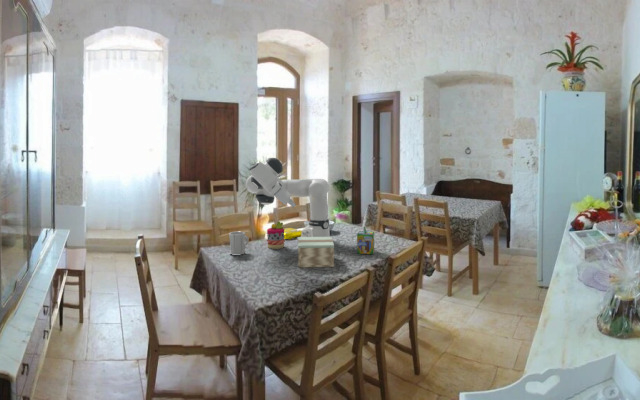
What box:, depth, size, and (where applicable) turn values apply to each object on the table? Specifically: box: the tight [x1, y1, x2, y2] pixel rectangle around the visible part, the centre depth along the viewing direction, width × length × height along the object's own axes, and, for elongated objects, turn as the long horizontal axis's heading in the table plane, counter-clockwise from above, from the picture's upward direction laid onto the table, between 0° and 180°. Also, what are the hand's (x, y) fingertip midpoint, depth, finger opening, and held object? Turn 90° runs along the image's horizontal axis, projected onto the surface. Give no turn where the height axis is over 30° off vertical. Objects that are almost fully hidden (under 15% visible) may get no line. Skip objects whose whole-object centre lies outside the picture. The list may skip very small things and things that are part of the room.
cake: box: [266, 221, 286, 250], centre depth 278 cm, size 10×11×15 cm
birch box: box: [297, 247, 335, 268], centre depth 245 cm, size 18×20×10 cm
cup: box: [228, 231, 249, 255], centre depth 263 cm, size 10×9×12 cm
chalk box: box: [356, 225, 375, 255], centre depth 264 cm, size 9×9×15 cm
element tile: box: [283, 227, 302, 240], centre depth 308 cm, size 15×15×5 cm
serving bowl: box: [303, 220, 335, 232], centre depth 322 cm, size 21×21×7 cm
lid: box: [297, 236, 335, 249], centre depth 244 cm, size 18×20×1 cm
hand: (294, 206), depth 241 cm, fingers closed
